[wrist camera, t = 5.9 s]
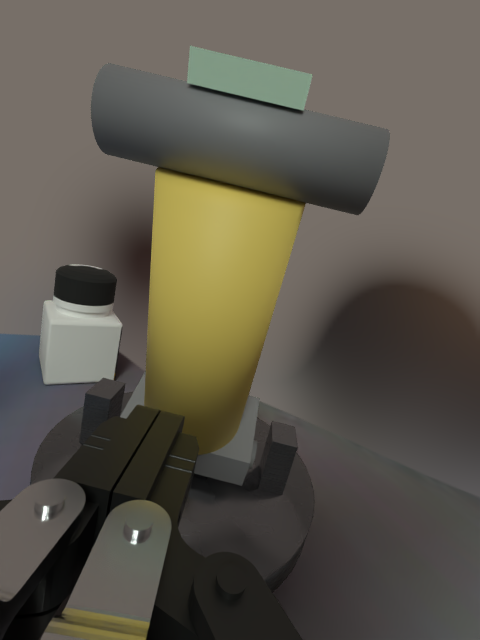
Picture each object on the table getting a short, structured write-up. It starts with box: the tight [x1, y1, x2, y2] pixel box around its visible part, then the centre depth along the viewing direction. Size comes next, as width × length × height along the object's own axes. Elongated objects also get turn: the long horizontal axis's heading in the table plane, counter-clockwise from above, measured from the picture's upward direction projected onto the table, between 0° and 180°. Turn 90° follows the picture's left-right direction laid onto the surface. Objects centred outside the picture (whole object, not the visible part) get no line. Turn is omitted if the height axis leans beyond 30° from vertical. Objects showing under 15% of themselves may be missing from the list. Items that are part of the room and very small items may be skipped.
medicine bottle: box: [39, 264, 123, 385], centre depth 39 cm, size 7×7×12 cm
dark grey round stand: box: [30, 378, 314, 592], centre depth 24 cm, size 18×18×8 cm
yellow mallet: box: [91, 46, 390, 486], centre depth 18 cm, size 10×6×22 cm, turn 85°
